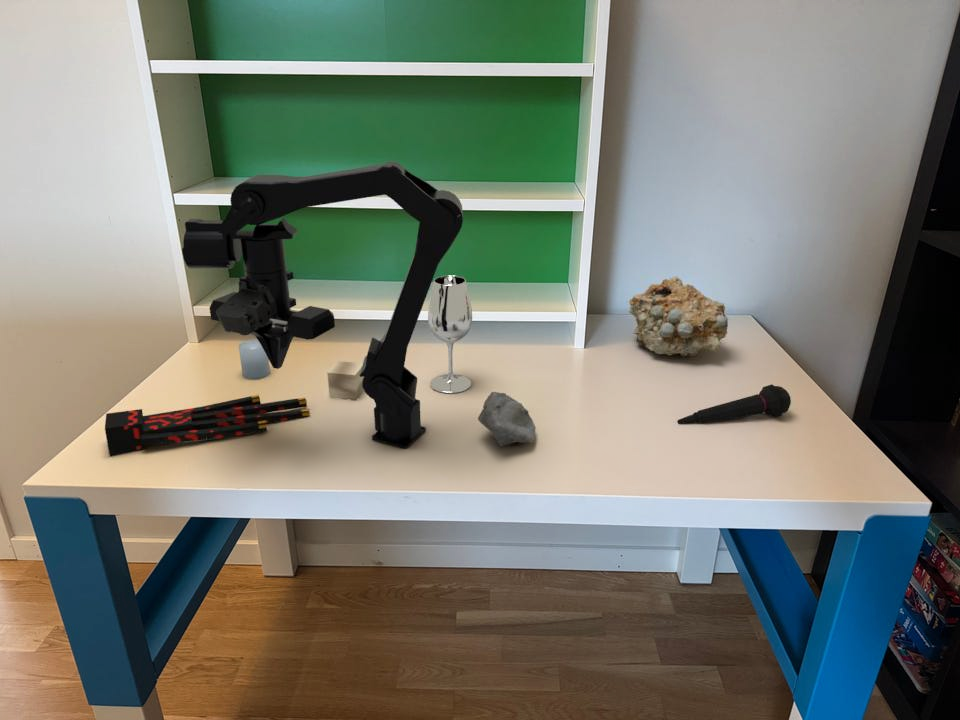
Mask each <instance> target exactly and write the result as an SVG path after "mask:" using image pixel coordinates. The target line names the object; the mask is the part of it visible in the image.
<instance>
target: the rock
mask: <svg viewBox="0 0 960 720" xmlns="http://www.w3.org/2000/svg"><path fill="white" fill-rule="evenodd" d="M682 281H683V280H682V279H681V278H679V277H678V276H677V275H676V276H672V277H670V278H669V279H667V278H665V279H663V280H662V282H661V283H660V284H657V283H656V284H655V283H653V284H650V285H649V287H648V288H647V290H645V291H644V292H641V293H640V294H635V295H633V296H632V298H631V299H629V301H628V302H629V305H630V307H629V309H628V313H629V314H631V315H633V317H634V318H635V321H636V324H637V326H636V327H635V329H634V330H633V332H632V333H631V334H632V335H633V334H634V335H636V336H637V337H636V343H637V344H638V346H639V347H641V348H647V349H649V350H650V351H651V352H652V351H653V352H654V353H655V354H657V355H667V356H672V355H676V354H679V355H680V356H681V357H686V356H687V357H688V356H691V357H695V356H696V355H697V354H698V353H699V352H700V350H701V349H707V350H709V351H713V352H718V351H719V348H720V347H721V341H722V339H724V338H725V339H726V337H727V334H728V328H729V327H728V325H729V323H728V320H729V318H728V317H727V316H726V314H725V310H726V307H725V302H721V301H720V300H719V301H718V300H712V299H711V298H709V297H707V296H705V295H704V294H703V293H702V292H701V291H700V290H698V289H697V288H696V287H694V285H690V284H686V285H684V284H683V282H682Z"/></svg>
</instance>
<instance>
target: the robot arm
mask: <svg viewBox="0 0 960 720" xmlns="http://www.w3.org/2000/svg"><path fill="white" fill-rule="evenodd" d="M232 190H233V191H232V192H231V194H230V195H231V196H230V209H229V211H228V212H227V214H226V215H225V217H224V218H223V220H216V219H215V220H207V219H201V218H190V219H188V220H187V221H185V222H184V227H185V232H184V236H183V243H182V248H181V251H182V257H183V260H184V263H185V265H186V266H187V267H188V268H189V269H191V270H192V269H193V270H194V269H195V270H196V269H200V270H201V269H203V270H204V269H208V270H209V269H216V270H217V269H218V270H219V269H221V270H222V269H223V270H224V269H226V270H227V269H233V268H234V267H235V264H236V262H240V261H241V258H242V260H243V267H244V276H241V277H239V280H238V291H237V292H236V291H232V292H230V293H228V294H225V295H222V296H220V297H218V298H214V299H213V300H212V302H211V304H210V306H209V313H210V314H209V315H210V319H211V320H212V321H215V322H220V323H221V325H222V327H223V330H224V331H225V332H227V333H231V332H232V333H235V334H239V335H242V336H248V335H253V336H254V337H255V339H258V341H259V342H260V344H261V346H262V348H263V349H264V351H265V353H266V355H267V357H268V359H269V364H270V365H271V366H272V368H273V369H276V370H278V369H280V368H282V367H283V365H284V362H285V359H286V356H287V354H288V352H289V348H290V345H291V344H292V341H293V340H294V338H298V339H302V340H306V341H307V340H314V339H316V338H317V337H320V336H321V335H323V334H325V333H326V332H328V331H331V330H333V329H334V328H335V327H336V323H335V314H334V312H332V311H331V310H330V309H328V308H322V307H318V306H312V305H309V306H307V307H305V308H303V309H301V310H294V309H292V308H293V307H296V306H297V300H296V298H293V297H290V290H289V289H290V287H289V281H291V280H293V279H294V272H293V271H291V270H290V271H289V270H287V261H286V260H287V259H286V253H285V252H286V251H285V243H284V241H285V240H292V239H293V238H294V237H295V236H296V235H297V233H298V232H299V230H298V229H297V228H296V227H295V226H294V225H291V223H289V222H288V221H287V220H286V218H283V217H284V216H287V215H290V214H292V213H294V212H296V211H299V210H302V209H305V208H309V207H310V208H311V207H315V206H322V205H328V204H334V203H340V202H348V201H354V200H358V199H359V200H360V199H365V198H372V197H379V196H386V197H388V198H390V199H391V200H392V201H393V202H395V203H396V205H398V206H399V208H401V209H402V210H404V211H405V212H406V213H407V214H408V215H409V216H410V217H411V218H413V219H414V220H416V221H418V222H419V225H418V229H417V230H418V231H417V236H416V243H415V250H414V254H413V256H412V259H411V262H410V265H409V268H408V270H407V273H406V276H405V279H404V282H403V284H402V287H401V290H400V293H399V296H398V298H397V301H396V304H395V307H394V310H393V312H392V315H391V318H390V321H389V324H388V327H387V330H386V332H385V333H384V335H383V336H382V338H381V339H380V340H379V339H377V338H375V337H371V339H370V344H369V346H368V350H367V354H366V355H365V356H364V359H363V362H362V363H363V365H362V369H361V372H360V375H359V376H360V377H364V378H363V382H362V387H363V389H364V391H363V392H365V394H366V395H367V396H368V397H369V398H370V399H372V400H373V401H374V403H375V407H373V417H374V419H373V420H374V430H375V431H376V432H374V434H373V435H371V440H372V441H376V442H380V443H383V444H387V445H391V446H394V447H398V448H401V449H407V448H409V447H411V446H412V445H413V443H414V442H416V441H417V440H418V439H419V438H420V437H421V436H422V435H423V434H424V433H425V432H426V431H427V428H426V427H425V426H422V425H421V424H422V423H421V400H420V399H417V398H416V396H417V395H416V393H417V385H418V377H417V376H416V375H415V374H414V373H412V372H411V371H410V370H409V369H407V368H406V366H405V364H406V357H407V352H408V351H407V350H408V347H409V344H410V341H411V339H412V336H413V333H414V330H415V328H416V325H417V322H418V320H419V317H420V315H421V311H422V309H423V306H424V304H425V301H426V298H427V296H428V293H429V290H430V288H431V285H432V282H433V281H434V276H435V274H436V272H437V269H438V266H439V264H440V262H441V261H442V259H443V258H444V256H446V254H447V253H448V251H449V250H450V249H451V247H452V245H453V244H454V241H455V239H457V237H458V235H459V233H460V231H461V229H462V228H463V222H464V217H463V214H464V213H463V204H462V202H461V200H460V198H459V197H457V195H456V194H455V193H453V192H451V191H448V190H443V189H441V190H439V189H437V188H436V187H434V186H433V185H431V184H430V183H429V182H427V181H425V180H424V179H422V178H421V177H419V176H417V175H416V174H413V172H410V171H409V170H408V169H406V168H405V167H404V166H403V165H402V164H401V163H400V162H397V161H395V160H391V161H390V160H389V161H385V162H383V163H380V164H376V165H370V166H363V167H357V168H352V169H351V168H350V169H345V170H338V171H332V172H325V173H320V174H314V175H308V176H291V175H284V174H283V175H282V174H255V175H253V176H250V177H248V179H246V180H244V181H242V182H240V183H239V184H237V185H236V186H235V187H234V189H232ZM280 218H282V219H280ZM276 219H280V221H278V223H277V224H273V223H272V224H271V223H269V224H268V222H271V221H274V220H276ZM248 225H249V226H255V227H254V228H253V229H243V228H245V227H246V226H248Z"/></svg>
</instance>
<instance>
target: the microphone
mask: <svg viewBox="0 0 960 720" xmlns="http://www.w3.org/2000/svg"><path fill="white" fill-rule="evenodd" d="M791 400H792V399H791V395H790V393H789V392H788V391H787V389H785V388H784V387H782V386H778V385H775V384H773V383H772V384H768V385H766V386H763V387H761V390H760V391H759V393H757V394H752V395H750V396H747V397H743V398H739V399H736V400H735V399H734V400H733V401H729V402H725V403H721V404H718V405H714V406H711V407H705V408H704V409H700V410H697V411H696V412H694V413H692V414H690V415H687V416H685V417H682V418H680V419H677V424H679V425H681V424H692V423H697V424H699V423H701V424H706V423H714V422H719V421H720V422H721V421H725V420H731V419H738V418H744V417H751V416H756V415H761V414H763V415H764V414H765V415H766V416H769V417H771V418H779V417H782V416H783V414H785V413H787V412H788V411H789V409H790V407H791V404H792V401H791Z"/></svg>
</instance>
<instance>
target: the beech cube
mask: <svg viewBox="0 0 960 720" xmlns="http://www.w3.org/2000/svg"><path fill="white" fill-rule="evenodd" d="M362 365H363V362H352V361H341V360H337V361H336V362H335V363H334V365H333V366H332V367H331V368H330V369H329V370H328V372H327V382H328V383H327V384H328V394H329V395H328V396H329V399H336V398H339V400H347V399H351V400H350V401H358V400H357V399H359V398H360V397H361V395H362V394H363V393H364V392H365V391H364V389H363V387H362V382H363V378H364V377H360V376H359V375H360V372H361V369H362ZM340 398H341V399H340Z"/></svg>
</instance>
